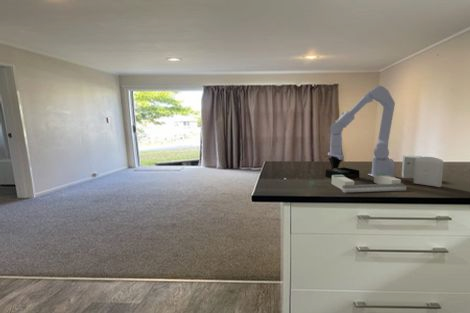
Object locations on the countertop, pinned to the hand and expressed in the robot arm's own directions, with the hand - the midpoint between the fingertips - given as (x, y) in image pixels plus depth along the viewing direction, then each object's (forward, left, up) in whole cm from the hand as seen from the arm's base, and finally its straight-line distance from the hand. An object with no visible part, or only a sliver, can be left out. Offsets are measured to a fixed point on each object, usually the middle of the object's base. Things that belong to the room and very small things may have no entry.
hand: (334, 171), depth 143 cm
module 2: (-10, +28, -1) cm, 30 cm away
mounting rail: (0, +35, -1) cm, 35 cm away
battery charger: (+1, +10, -2) cm, 10 cm away
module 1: (+10, +28, -1) cm, 30 cm away
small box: (-32, +15, -1) cm, 35 cm away
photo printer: (-28, +29, -1) cm, 41 cm away
